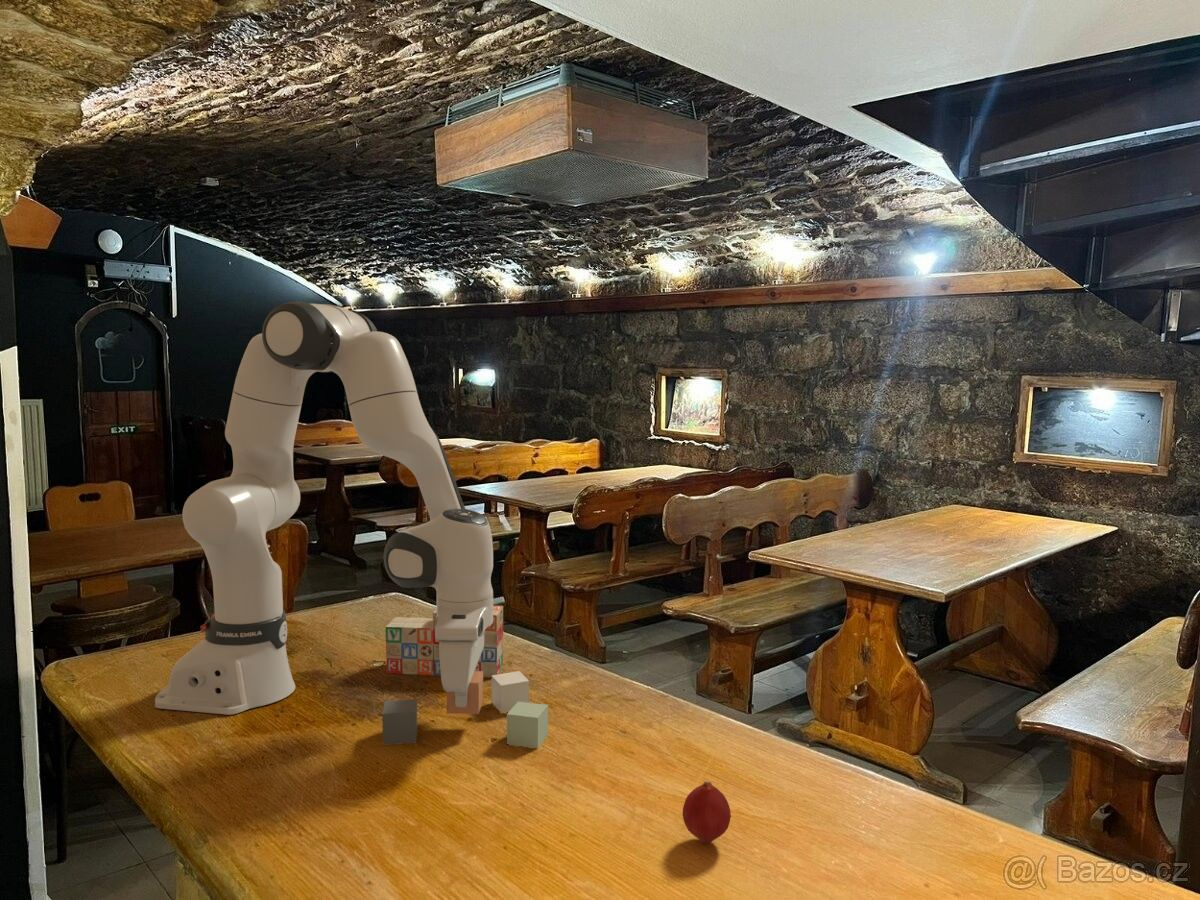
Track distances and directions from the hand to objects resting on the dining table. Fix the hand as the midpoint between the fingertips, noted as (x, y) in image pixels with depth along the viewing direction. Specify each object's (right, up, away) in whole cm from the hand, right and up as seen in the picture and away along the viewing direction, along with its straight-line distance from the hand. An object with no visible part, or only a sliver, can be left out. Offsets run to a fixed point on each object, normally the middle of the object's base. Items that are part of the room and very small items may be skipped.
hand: (465, 697), depth 133 cm
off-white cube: (+6, -4, +10) cm, 12 cm away
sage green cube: (+10, -6, -3) cm, 12 cm away
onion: (+35, -9, -31) cm, 47 cm away
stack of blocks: (-8, -3, +26) cm, 28 cm away
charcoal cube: (-10, -6, -2) cm, 11 cm away
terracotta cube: (0, -2, 0) cm, 2 cm away
